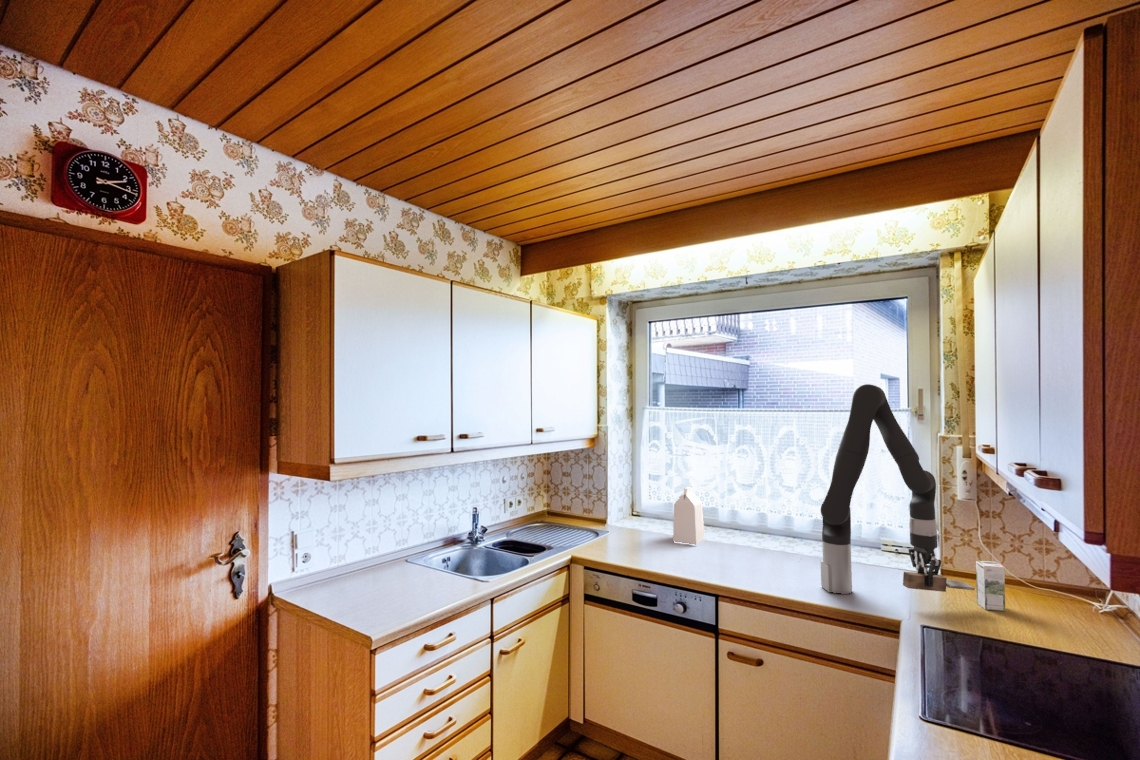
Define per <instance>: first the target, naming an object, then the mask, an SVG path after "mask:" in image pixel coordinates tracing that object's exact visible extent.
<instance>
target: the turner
mask: <svg viewBox="0 0 1140 760" xmlns="http://www.w3.org/2000/svg"><path fill="white" fill-rule="evenodd" d="M924 575H925V574H922V573H918V572H910V571H903V575H902V576H903V577H902V586H903V587H906V588H907V589H913V590H922V591H923V590H924V591H933V592H942V593H945V592H947V588H948V589H956V590H957V589H958V590H967V591H969V590H970V591H975V589H976V587H975V586H971V585H970V584H968V583H965V582H964V581H963V580H962V581H961V580H950V579H947V577H945V576H943V575H941V574H938V575H933V587H926V586H925V576H924Z"/></svg>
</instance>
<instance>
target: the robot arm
mask: <svg viewBox="0 0 1140 760" xmlns="http://www.w3.org/2000/svg"><path fill="white" fill-rule="evenodd" d="M873 421H874V423H875V425H876V426H877V428H878V430H879V433H880V434H881V437H882V440H883V442H884V444H885V446H886V448H887V450H888V452H889V453H890V455H891V457H892V459H893V460H894V462H895V464H897V466H898V469H899V470H898V471H899V473H900V475H901V477H902V480H903V481H904V483H905V485H906V486H907V488H908V489H909V490H910V491H911V499H910V501H909V526H908V527H909V543H910V545H911V546H913V548H908V554H909V557H910V561H911V564H912V567H913V568H915V570H916V572H917V573H922V574H925V575H924V576H925V586H926V587H933V575H939V572H940V568H941V565H942V560H941V559H938V558H936V553H935V549H937V548H938V528H937V527H938V525H937V522H936V509H935V506H936V505H935V500H936V492H937V491H936V490H937V484H936V483H937V481H936V478H935V476H934V475H933V474H932V473H931V472H930V471H928V470H924V468H923V467H922V465H921V463H920V456H919V454H918V453H917V451H916V449H915V447H914V446H913V444H912V442H911V441H910V439H909V438H908V437H907V435H906V433H905V432H904V430H903V429H902V427H901V426H900V424H899V423H898V421H897V419H896V417H895V415H894V413H893V411H892V409H891V406H890V405H889V402H888V399H887V397H886V393H885V391H884V389H882V388H881V387H879V386H877V385H874V384H869V383H868V384H866V383H865V384H863V385H860V386H858V387H857V388H856V389H855V390H854V392H853V394H852V399H851V405H850V410H849V415H848V420H847V422H846V423H847V424H846V426H845V428H844V431H843V434H842V437H841V441H840V443H839V445H838V449H837V452H836V456H835V460H834V465H833V469H832V476H831V481H830V486H829V488H828V490H827V493H826V496H825V498H824V500H823V502H822V504H820V505H821V506H820V514H821V517H822V530H821V532H822V533H821V538H822V539H821V540H822V541H821V542H822V543H821V544H822V545H821V546H822V560H820V585H821V586H822V587H823V588H822V587H821V588H822V589H824V590H825V591H826V590H827V591H828V592H827V591H826V592H827V593H829V592H833V593H832V594H836V593H841V594H840V595H850V594H852V593H853V576H852V575H853V572H852V545H851V544H852V541H851V539H852V527H851V526H852V524H851V521H852V519H851V518H852V517H851V507H850V506H851V501H852V497H853V492H854V489H855V487H856V485H857V483H858V481H859V479H860V477H861V474H862V472H863V469H864V467H865V464H866V461H867V457H868V454H869V450H870V443H871V429H872V424H873ZM851 592H852V593H851ZM849 593H850V594H849Z"/></svg>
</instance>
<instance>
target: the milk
mask: <svg viewBox="0 0 1140 760" xmlns="http://www.w3.org/2000/svg"><path fill="white" fill-rule="evenodd" d="M704 522H705V521H704V508H703V503H702V501H701V499H700V498H699V497H698V496H697V495H696V494H695V493H694V492H693V488H692V486H687V487H685V488H684V490H683V493H682V494H680V496H679V497H678V499H677V500H676V501H675V502H674V504H673V527H672V528H673V529H672V530H673V532H672V533H673V535H672V539H673V541H675V542H682V543H689V544H695V545H697V544H698V543H700V542H701V541H703V540H704V539H705V540H706V538H705V537H706V536H705V523H704ZM673 541H672V542H673ZM703 542H704V541H703Z"/></svg>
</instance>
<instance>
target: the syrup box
mask: <svg viewBox="0 0 1140 760" xmlns="http://www.w3.org/2000/svg"><path fill="white" fill-rule="evenodd" d="M975 569H976V570H975V573H976V575H975V577H976V578H975V579H976V581H975V582H976V603H977V604H978V605H979V606H980V607H981V608H983V609H984V610H987V611H995V612H997V611H998V612H1006V585H1005V583H1006V582H1005V581H1006V580H1005V576H1006V575H1005V567H1004V566H1003V565H1002V564H1000V563H998V562H997V561H989V560H988V561H986V560H976V561H975Z"/></svg>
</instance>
